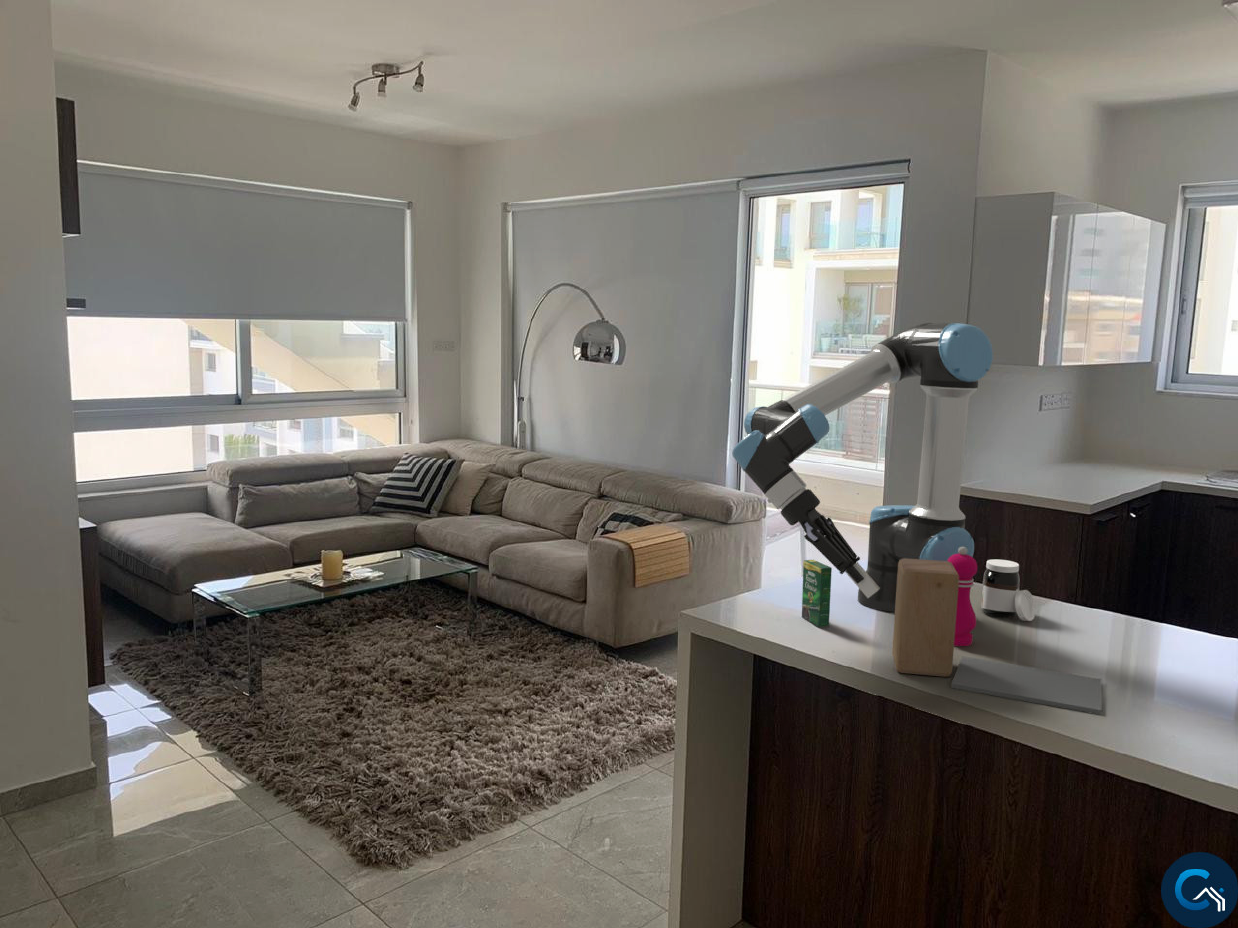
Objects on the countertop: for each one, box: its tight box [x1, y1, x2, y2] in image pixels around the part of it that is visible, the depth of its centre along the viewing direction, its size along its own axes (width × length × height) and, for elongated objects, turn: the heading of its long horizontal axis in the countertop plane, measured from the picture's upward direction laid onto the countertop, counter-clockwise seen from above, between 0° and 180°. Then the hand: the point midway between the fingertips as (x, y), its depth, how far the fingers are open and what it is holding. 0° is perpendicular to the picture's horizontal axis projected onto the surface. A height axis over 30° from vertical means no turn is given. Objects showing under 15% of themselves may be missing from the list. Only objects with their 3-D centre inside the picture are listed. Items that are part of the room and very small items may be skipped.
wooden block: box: [891, 558, 959, 678], centre depth 177 cm, size 10×10×20 cm
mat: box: [950, 655, 1103, 715], centre depth 170 cm, size 16×24×1 cm, turn 64°
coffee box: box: [801, 559, 833, 628], centre depth 203 cm, size 8×3×13 cm, turn 17°
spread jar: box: [980, 559, 1036, 622], centre depth 211 cm, size 12×11×12 cm
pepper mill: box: [947, 547, 978, 647], centre depth 192 cm, size 7×7×20 cm
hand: (873, 593), depth 180 cm, fingers closed
